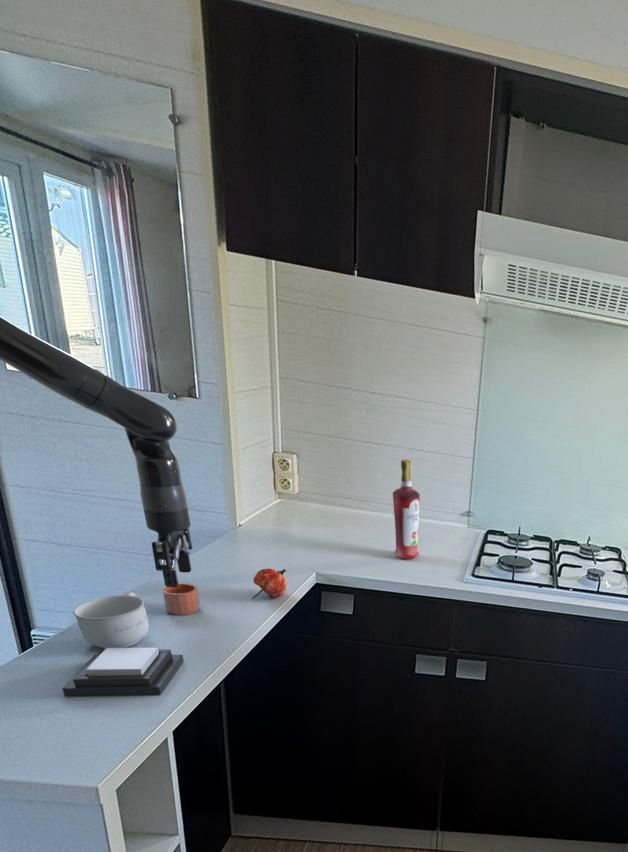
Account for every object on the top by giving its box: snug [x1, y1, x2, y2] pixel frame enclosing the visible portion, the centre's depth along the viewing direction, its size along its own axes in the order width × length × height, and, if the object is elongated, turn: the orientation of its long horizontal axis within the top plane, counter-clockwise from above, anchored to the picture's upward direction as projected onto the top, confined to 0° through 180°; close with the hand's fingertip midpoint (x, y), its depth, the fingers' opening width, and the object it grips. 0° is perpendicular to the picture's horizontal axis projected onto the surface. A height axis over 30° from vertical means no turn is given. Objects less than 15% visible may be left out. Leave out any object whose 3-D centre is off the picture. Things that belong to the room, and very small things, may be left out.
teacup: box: [73, 591, 150, 649], centre depth 121 cm, size 14×11×8 cm
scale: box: [62, 648, 184, 697], centre depth 111 cm, size 14×12×3 cm
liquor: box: [392, 459, 421, 561], centre depth 178 cm, size 7×7×28 cm
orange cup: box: [162, 582, 201, 616], centre depth 136 cm, size 6×6×5 cm
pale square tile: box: [86, 647, 159, 676], centre depth 110 cm, size 8×8×2 cm
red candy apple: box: [251, 568, 288, 600], centre depth 147 cm, size 7×7×10 cm
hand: (179, 579), depth 134 cm, fingers open, 8 cm apart
